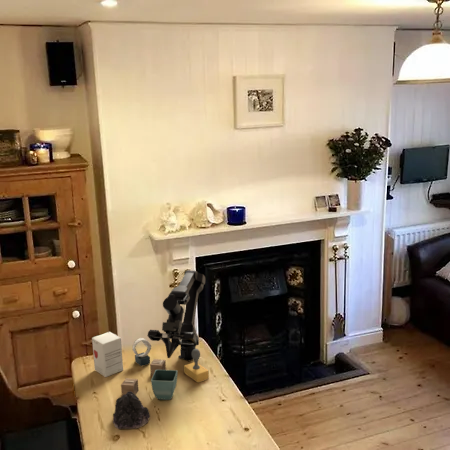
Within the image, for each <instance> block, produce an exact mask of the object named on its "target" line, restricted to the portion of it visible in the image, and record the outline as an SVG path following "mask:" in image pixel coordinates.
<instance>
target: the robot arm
mask: <svg viewBox="0 0 450 450" xmlns="http://www.w3.org/2000/svg"><path fill="white" fill-rule="evenodd" d="M204 285H206V276H205V275H204V274H203V273H200V272H198V271H196V270H191V269H190V270H189V269H188V270H187V269H186V270H185V271H184V276H183V277H182V279H181V281H180V282H179V284H178V286H175V287H174V288H173V289H172V290H171V291H170V293H169V294H168V296H167V297H166V298H165V299H164V300H163V301H162V307H163V308H164V310H165V311H166V313H167V314H168V318H167V319H166V321H162V327H161V331H163V332H160V331H159V329H149V330H148V331H147V337H148V338H149V340H150V341H154V342H159V341H162V342H163V343H164V346H165V351H166V357H167V359H170V358H172V356H173V354H174V352H175V351H176V349H177V348H178V347H179V346H180V348H179V349H180V351H179V352H180V355H178V358H179V359H181V360H184V361H188V362H191V361H193V358H192V351H193V349H197V348H196V347H197V346H199V344H200V339H199V338H200V337H199V336H198V334H197V330H196V328H195V325H194V324H195V317H196V313H197V305H198V301H199V300H198V299H199V294H200V293H201V292H202V291H203V290H204ZM182 305H185V309H184V307H183V306H182Z"/></svg>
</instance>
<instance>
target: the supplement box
mask: <svg viewBox="0 0 450 450" xmlns="http://www.w3.org/2000/svg"><path fill="white" fill-rule="evenodd" d="M91 343H92V353H93V364H94V366H93V367H94V371H96V372H97V373H99V375H102V376H103V377H104V378H107V377H110V376H112V375H114V374H117V373H119V372H122V371H124V364H123V360H124V359H123V351H122V350H123V349H122V347H123V346H122V345H123V344H122V337H120V336H118V335H117V334H116V333H113V332H111V331H107V332H105V333H103V334H100V335H96V336H95V335H94V336H93V337H91Z"/></svg>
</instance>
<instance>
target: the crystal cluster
mask: <svg viewBox="0 0 450 450" xmlns="http://www.w3.org/2000/svg"><path fill="white" fill-rule="evenodd" d="M112 417H113V418H112V419H113V420H112V423H113V425H114V428H116V429H117V430H120V429H121V430H122V429H123V430H125V429H129V430H130V429H139V428H141V427H144V426H145V425H146V424H148V423H149V420H150V417H151V414H150V411H149V408H148V407H146V406H144V405H143V403H142V401H141V400H140V399H139V396H137V394H136V395H135V394H134V393H133V392H131V391H130V392H127V394H124V395H123V396H122V395H121V396H119V397H118V398H116V400H115V407H114V413H113V415H112Z"/></svg>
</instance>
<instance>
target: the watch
mask: <svg viewBox="0 0 450 450" xmlns="http://www.w3.org/2000/svg"><path fill="white" fill-rule="evenodd" d="M140 342H142V343H143V345H144V346H145V347H146V351H145V352H140V353H138V351H137V348H136V347H137V345H138V344H139V343H140ZM151 350H152V345H151V343H150V342H149V340H147V338H146V337H139V338H137V339H136V340H135V341H134V342H133V344H132V352H133V353H134V354H135V355H134V362H135V363H136V364H137V365H138V366H140V367H145V366H146V365H149V364H151V357H150V356H149V353H151Z"/></svg>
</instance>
